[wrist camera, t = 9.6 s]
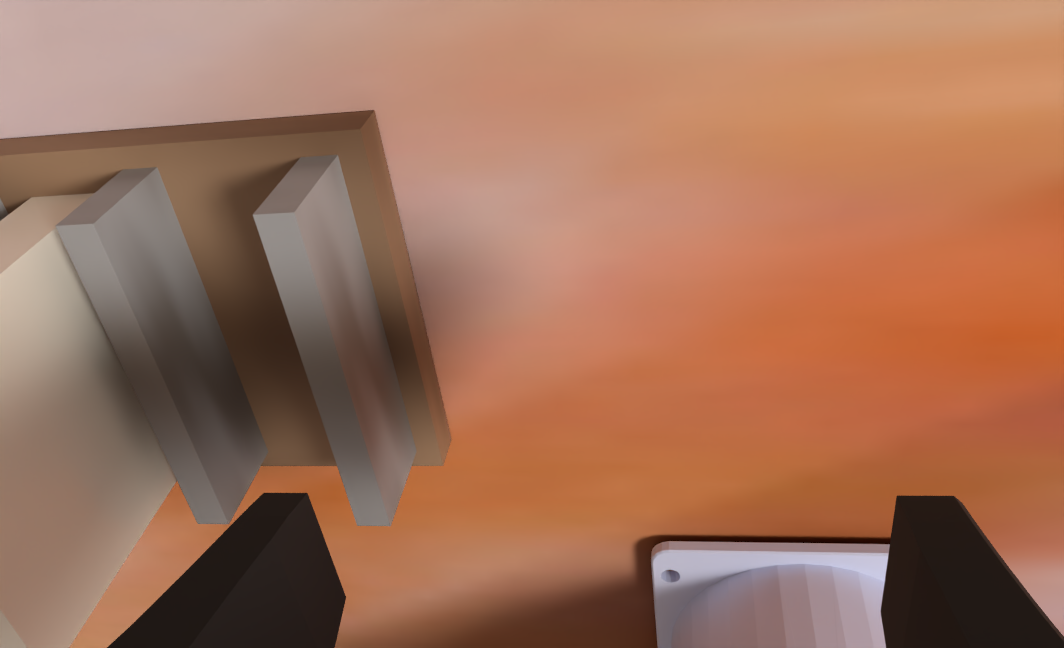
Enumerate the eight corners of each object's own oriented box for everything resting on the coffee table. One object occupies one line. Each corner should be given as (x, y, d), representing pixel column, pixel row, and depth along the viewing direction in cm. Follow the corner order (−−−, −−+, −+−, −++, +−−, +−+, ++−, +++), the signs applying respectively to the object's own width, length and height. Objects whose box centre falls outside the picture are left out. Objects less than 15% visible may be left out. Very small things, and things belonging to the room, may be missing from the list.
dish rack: (451, 439, 23) (420, 541, 20) (-15, 442, 26) (-101, 533, 23) (374, 110, 18) (318, 184, 15) (-195, 154, 21) (-333, 225, 18)
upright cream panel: (204, 437, 23) (49, 678, 17) (148, 438, 23) (-23, 675, 18) (96, 193, 19) (-149, 399, 13) (31, 197, 19) (-237, 401, 14)
